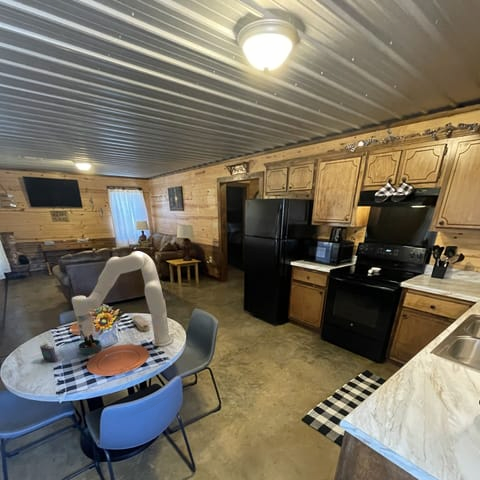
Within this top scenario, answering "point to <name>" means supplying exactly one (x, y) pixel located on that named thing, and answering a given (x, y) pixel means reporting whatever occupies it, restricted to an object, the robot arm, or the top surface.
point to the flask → (48, 353)
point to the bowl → (89, 350)
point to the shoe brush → (141, 323)
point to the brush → (91, 343)
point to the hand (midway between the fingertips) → (90, 344)
